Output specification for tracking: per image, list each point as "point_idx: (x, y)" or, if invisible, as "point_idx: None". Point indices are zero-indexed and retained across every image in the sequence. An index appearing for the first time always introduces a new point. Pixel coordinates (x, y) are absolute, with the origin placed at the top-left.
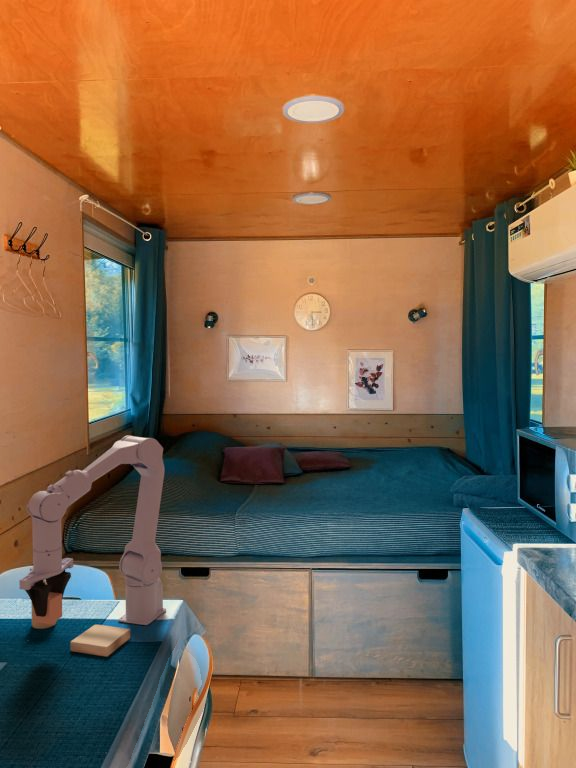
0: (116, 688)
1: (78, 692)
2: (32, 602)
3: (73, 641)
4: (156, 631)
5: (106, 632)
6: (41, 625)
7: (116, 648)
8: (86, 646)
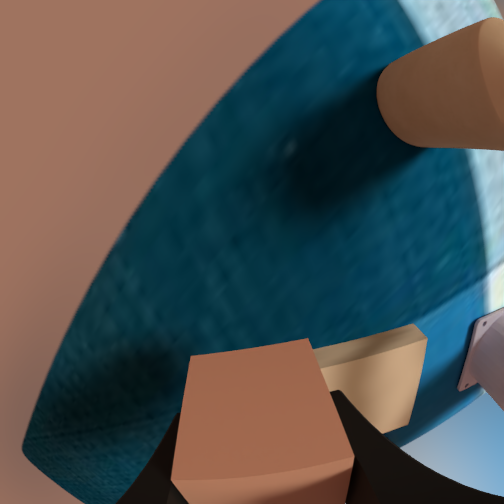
0: None
1: None
2: (139, 480)
3: None
4: (433, 418)
5: (381, 404)
6: (390, 121)
7: None
8: None
